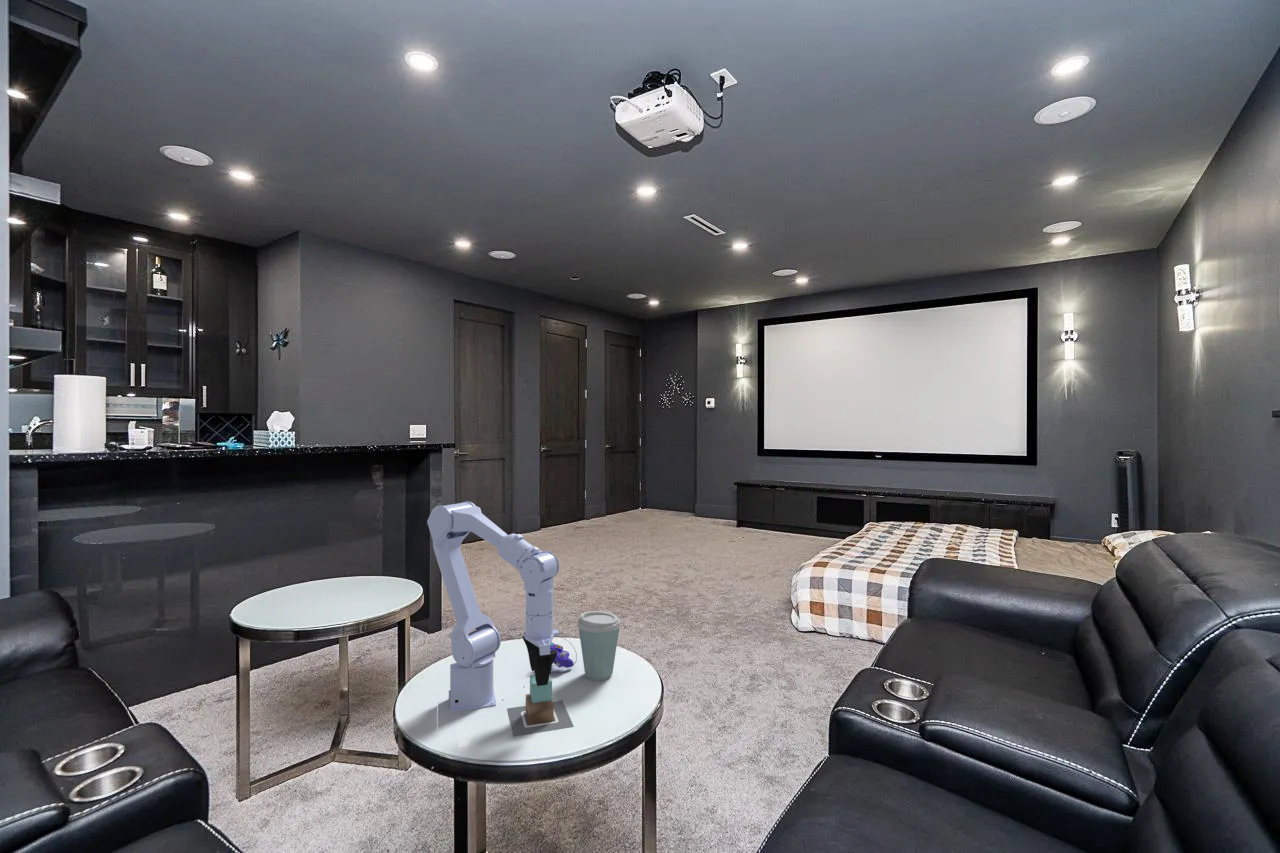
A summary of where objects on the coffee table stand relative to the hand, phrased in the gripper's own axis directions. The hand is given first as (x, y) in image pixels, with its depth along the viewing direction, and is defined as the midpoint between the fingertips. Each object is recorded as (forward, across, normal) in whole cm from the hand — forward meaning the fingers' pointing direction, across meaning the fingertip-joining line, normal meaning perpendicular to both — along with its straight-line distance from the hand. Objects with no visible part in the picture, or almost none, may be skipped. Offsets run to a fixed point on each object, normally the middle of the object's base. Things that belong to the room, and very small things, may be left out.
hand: (539, 677), depth 122 cm
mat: (+9, 0, 0) cm, 9 cm away
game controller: (+9, +24, -7) cm, 26 cm away
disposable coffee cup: (+9, +16, -17) cm, 25 cm away
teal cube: (+4, 0, 0) cm, 4 cm away
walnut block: (+8, 0, 0) cm, 8 cm away
